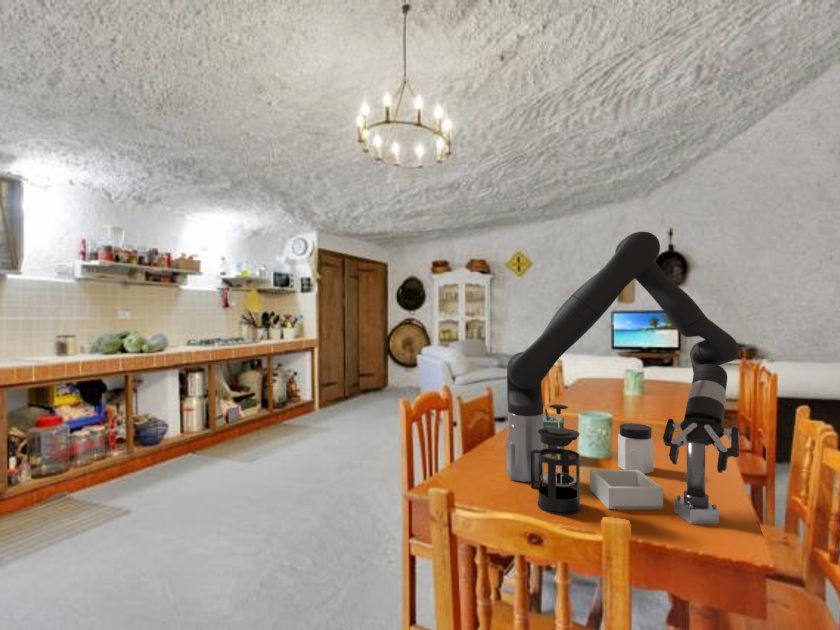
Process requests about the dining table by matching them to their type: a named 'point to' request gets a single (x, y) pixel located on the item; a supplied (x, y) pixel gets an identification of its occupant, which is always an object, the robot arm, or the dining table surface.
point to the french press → (558, 489)
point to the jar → (635, 448)
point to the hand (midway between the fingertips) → (696, 466)
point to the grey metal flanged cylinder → (696, 475)
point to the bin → (626, 490)
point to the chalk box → (552, 423)
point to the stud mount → (696, 512)
